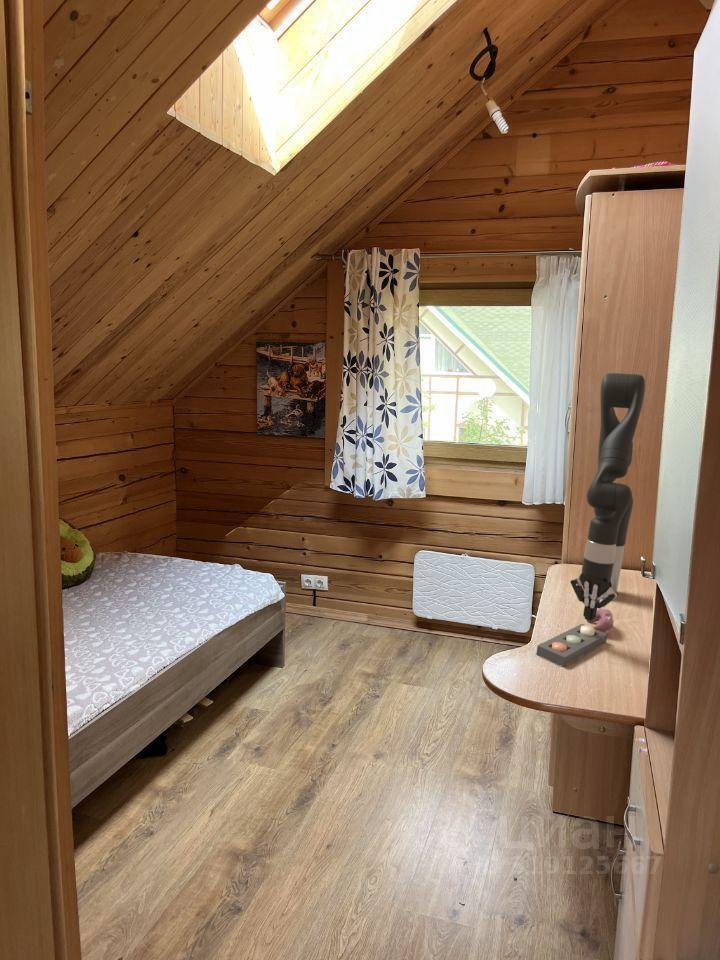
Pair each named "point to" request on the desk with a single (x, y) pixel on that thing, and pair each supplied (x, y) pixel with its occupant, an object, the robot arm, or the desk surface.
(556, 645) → the terracotta button
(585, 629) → the cream button
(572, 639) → the sage button
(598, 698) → the desk surface
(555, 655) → the button panel
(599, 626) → the video game controller
